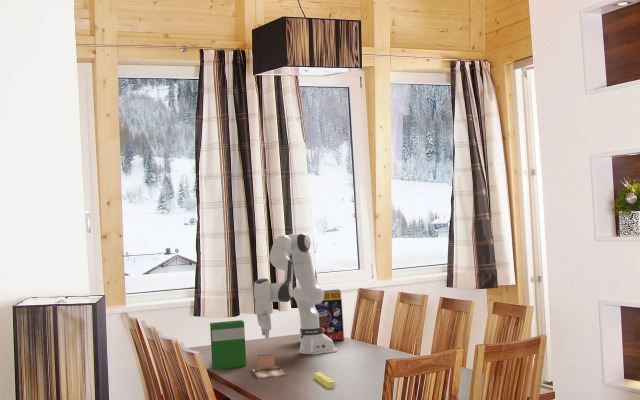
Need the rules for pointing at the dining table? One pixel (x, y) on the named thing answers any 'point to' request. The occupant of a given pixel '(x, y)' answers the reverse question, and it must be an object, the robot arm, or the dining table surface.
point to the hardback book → (228, 344)
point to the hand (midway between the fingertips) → (265, 336)
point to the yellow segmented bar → (324, 380)
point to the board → (268, 372)
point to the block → (266, 361)
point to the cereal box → (331, 315)
